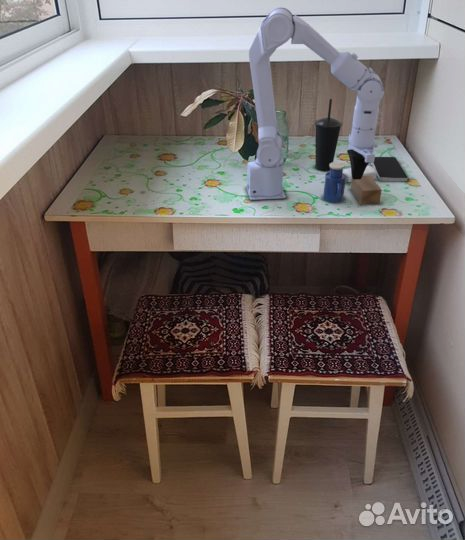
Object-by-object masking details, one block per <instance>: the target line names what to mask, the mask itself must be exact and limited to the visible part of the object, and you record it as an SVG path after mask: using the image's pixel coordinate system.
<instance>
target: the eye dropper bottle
mask: <svg viewBox="0 0 465 540" xmlns="http://www.w3.org/2000/svg"><path fill="white" fill-rule="evenodd" d="M343 173H344V174H345V175H346V181H345V183H346V182H347V183H349V184H351V182H352V174H351V167H347V168H343ZM363 176H371V177H372V178H373V180H375V179H376V177H377V175H376V171H375V169H374V168H373V167H372V165H369V164H368V165H367V167H366V169H365V171H364V174H363Z"/></svg>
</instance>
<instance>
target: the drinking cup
mask: <svg viewBox="0 0 465 540" xmlns="http://www.w3.org/2000/svg"><path fill="white" fill-rule="evenodd" d="M332 104H333V99H332V98H329V100H328V112H327V116H324V117H321V118H317V119H316V120H315V121H314V125H315V137H314V138H315V139H314V140H315V143H314V144H315V145H314V146H315V150H314V151H315V155H314V157H315V159H314V160H315V161H314V162H315V164H314V165H315V169H316V170H318V171H321V172H330V167H329V164H330V163H332V162H334V160H335V155H336V152H337V146H338V141H339V136H340V132H341V127H342V126H343V122H342V121H341V120H339V119H337V118H335V117H332V116H331V114H332Z"/></svg>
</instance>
